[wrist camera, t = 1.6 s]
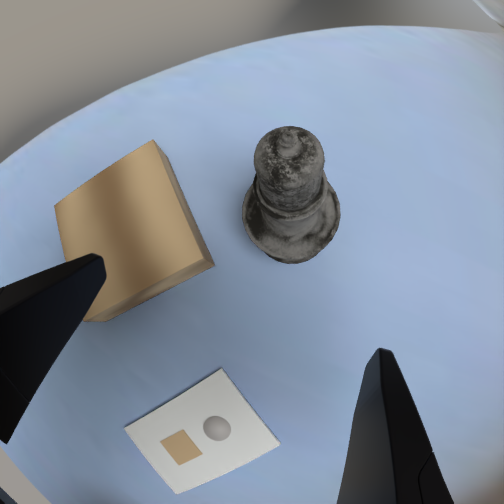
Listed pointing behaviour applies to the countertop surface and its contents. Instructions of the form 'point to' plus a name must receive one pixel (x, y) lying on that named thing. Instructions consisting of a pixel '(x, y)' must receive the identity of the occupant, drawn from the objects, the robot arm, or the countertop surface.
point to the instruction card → (202, 434)
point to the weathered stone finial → (290, 197)
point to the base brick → (133, 231)
